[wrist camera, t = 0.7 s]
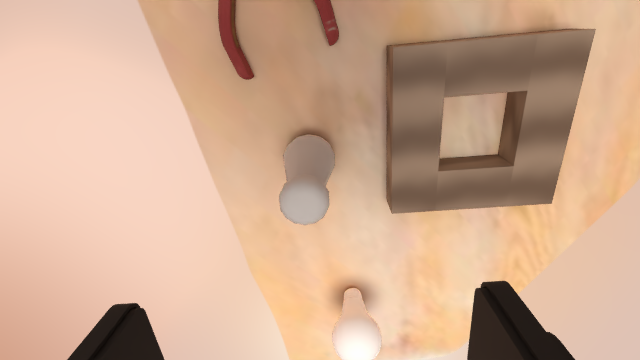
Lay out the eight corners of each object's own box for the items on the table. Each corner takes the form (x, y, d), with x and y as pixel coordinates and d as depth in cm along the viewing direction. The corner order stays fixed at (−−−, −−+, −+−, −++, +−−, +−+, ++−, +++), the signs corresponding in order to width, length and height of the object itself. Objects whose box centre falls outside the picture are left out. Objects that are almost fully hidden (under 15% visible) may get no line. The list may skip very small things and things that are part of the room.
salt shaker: (293, 179, 40) (279, 242, 28) (279, 135, 37) (258, 185, 26) (339, 168, 39) (345, 229, 27) (328, 123, 37) (329, 168, 25)
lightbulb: (361, 268, 45) (371, 335, 36) (379, 296, 48) (393, 367, 38) (324, 284, 47) (323, 353, 37) (343, 311, 49) (347, 383, 39)
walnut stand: (387, 45, 33) (393, 47, 30) (569, 28, 32) (595, 28, 29) (386, 199, 41) (391, 213, 37) (533, 189, 40) (551, 203, 36)
